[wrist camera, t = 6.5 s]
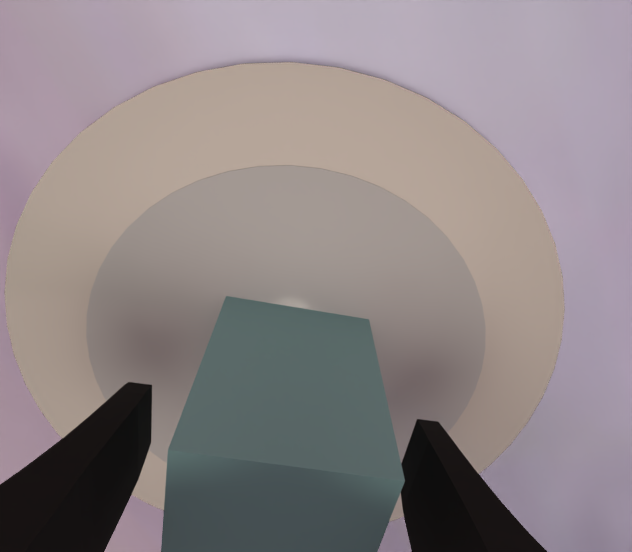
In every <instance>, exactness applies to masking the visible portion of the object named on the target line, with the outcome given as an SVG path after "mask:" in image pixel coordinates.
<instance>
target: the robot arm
mask: <svg viewBox="0 0 632 552" xmlns="http://www.w3.org/2000/svg"><path fill="white" fill-rule="evenodd" d="M151 429H152V385H149V384H141V383H134V382H128V383H126V384H125V385H123V386H122V387H121V388H120V389H119V390H118V391H117V392H116V393H115V394H114V395H112V396H111V397H110V398H109V399H108V400H107V401H106V402H105V403H104V404H102V405H101V406H100V407H99V408H98V409H97V410H96V411H94V412H93V413H92V414H91V415H90V416H89V417H88V418H86V419H85V420H84V421H83V422H82V423H80V424H79V425H78V426H77V427H76V428H74V429H73V430H72V431H71V432H70V433H68V434H67V435H66V436H65V437H64V438H62V439H61V440H60V441H59V442H57V443H56V444H55V445H54V446H52V447H51V448H50V449H48V450H47V451H46V452H44V453H43V454H42V455H40V456H39V457H38V458H36V459H35V460H34V461H33V462H31V463H30V464H29V465H27V466H26V467H25V468H23V469H22V470H20V471H19V472H18V473H16V474H15V475H13V476H12V477H10V478H9V479H8V480H6V481H5V482H3V483H2V484H0V552H104V551H105V549H106V547H107V544H108V542H109V540H110V538H111V536H112V534H113V532H114V530H115V528H116V526H117V524H118V522H119V519H120V517H121V515H122V513H123V511H124V509H125V507H126V505H127V503H128V501H129V498H130V496H131V494H132V492H133V490H134V488H135V486H136V484H137V481H138V479H139V476H140V474H141V471H142V468H143V465H144V462H145V459H146V456H147V453H148V450H149V447H150V445H151ZM401 465H402V470H403V474H404V479H405V482H404V485H403V488H402V490H401V500H402V508H403V513H404V518H405V523H406V527H407V531H408V536H409V540H410V545H411V549H412V552H547V551H546V550H545V549H544V548H543V547H542V546H541V545H540V544H539V543H538V542H537V541H536V540H535V539H534V538H533V537H532V536H531V535H530V533H529V532H528V531H527V530H526V529H525V528H524V527H523V526H522V525H521V524H520V523H519V521H518V520H517V519H516V518H515V517H514V516H513V515H512V514H511V512H510V511H509V510H508V509H507V508H506V507H505V506H504V504H503V503H502V502H501V501H500V500H499V499H498V497H497V496H496V495H495V494H494V493H493V491H492V490H491V489H490V488H489V486H488V485H487V484H486V483H485V482H484V480H483V479H482V478H481V476H480V475H479V474H478V473H477V471H476V470H475V469H474V468H473V466H472V465H471V464H470V462H469V461H468V460H467V458H466V457H465V456H464V455H463V453H462V452H461V451H460V449H459V448H458V447H457V445H456V444H455V443H454V441H453V440H452V439H451V437H450V436H449V435H448V433H447V432H446V431H445V429H444V428H443V427H442V426H441V424H440V423H439V422H437V421H429V420H422V419H417V421H416V423H415V426H414V429H413V432H412V435H411V438H410V441H409V443H408V446H407V449H406V452H405V455H404V458H403V460H402V463H401Z"/></svg>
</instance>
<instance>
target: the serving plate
mask: <svg viewBox="0 0 632 552" xmlns="http://www.w3.org/2000/svg"><path fill="white" fill-rule="evenodd" d="M226 296H230V297H236V298H242V299H248V300H254V301H260V302H267V303H273V304H279V305H285V306H291V307H297V308H303V309H309V310H315V311H322V312H328V313H334V314H340V315H346V316H352V317H358V318H364V319H369V322H370V326H371V331H372V335H373V340H374V344H375V349H376V353H377V358H378V362H379V367H380V371H381V376H382V380H383V385H384V389H385V394H386V398H387V403H388V407H389V412H390V416H391V421H392V425H393V430H394V434H395V439H396V443H397V448H398V452H399V456H400V461H401V463H402V460H403V458H404V455H405V452H406V449H407V446H408V443H409V441H410V438H411V435H412V432H413V429H414V426H415V423H416V421H417V419H422V420H429V421H437V422H439V423H440V424H441V426H442V427H443V428H444V429H445V431H446V432H447V433H448V435H449V436H450V437H451V439H452V440H453V441H454V443H455V444H456V445H457V447H458V448H459V449H460V451H461V452H462V453H463V455H464V456H465V457H466V458H467V460H468V461H469V462H470V464H471V465H472V466H473V468H474V469H475V470H476V471H477V473H478V474H479V473H481V472H482V471H483V470H484V469H486V468H487V467H488V466H489V465H491V464H492V463H493V462H494V461H495V460H496V459H497V458H498V457H499V456H500V454H501V453H502V452H503V451H504V450H505V449H506V448H507V447H508V446H509V445H510V444H511V443H512V442H513V441H514V439H515V438H516V437H517V435H518V434H519V433H520V431H521V430H522V429H523V428H524V426H525V425H526V424H527V422H528V421H529V419H530V418H531V416H532V414H533V412H534V411H535V409H536V407H537V406H538V404H539V402H540V401H541V399H542V397H543V395H544V393H545V390H546V388H547V385H548V383H549V380H550V378H551V376H552V373H553V371H554V368H555V364H556V360H557V356H558V352H559V348H560V344H561V340H562V330H563V320H564V293H563V277H562V272H561V268H560V263H559V259H558V255H557V250H556V246H555V243H554V240H553V238H552V235H551V233H550V230H549V228H548V225H547V223H546V220H545V218H544V215H543V213H542V211H541V209H540V207H539V206H538V204H537V202H536V201H535V199H534V197H533V196H532V194H531V193H530V191H529V189H528V188H527V186H526V184H525V183H524V181H523V179H522V178H521V177H520V176H519V175H518V173H517V172H516V171H515V170H514V169H513V168H512V166H511V165H510V164H509V163H508V162H507V161H506V159H505V158H504V157H503V156H502V155H501V154H500V152H499V151H498V150H497V149H496V148H495V147H494V146H493V145H492V144H490V143H489V142H488V141H487V140H486V139H485V138H483V137H482V136H481V135H480V134H479V133H477V132H476V131H475V130H474V129H473V128H472V127H470V126H469V125H468V124H467V123H466V122H465V121H463V120H462V119H460V118H458V117H457V116H455V115H453V114H452V113H450V112H449V111H447V110H445V109H444V108H442V107H441V106H439V105H437V104H436V103H434V102H432V101H431V100H429V99H428V98H426V97H423V96H421V95H419V94H416V93H414V92H412V91H409V90H407V89H405V88H402V87H400V86H398V85H395V84H393V83H391V82H388V81H386V80H383V79H380V78H376V77H372V76H368V75H365V74H361V73H357V72H353V71H349V70H346V69H342V68H337V67H328V66H320V65H311V64H302V63H294V62H284V63H251V64H239V65H234V66H228V67H223V68H217V69H211V70H206V71H200V72H196V73H193V74H190V75H187V76H184V77H181V78H178V79H175V80H172V81H169V82H166V83H163V84H160V85H158V86H155V87H152V88H150V89H149V90H147V91H145V92H143V93H141V94H139V95H137V96H135V97H133V98H131V99H129V100H127V101H126V102H124V103H122V104H120V105H118V106H116V107H114V108H113V109H111V110H110V111H109V112H107V113H106V114H105V115H103V116H102V117H101V118H99V119H98V120H97V121H95V122H94V123H93V124H91V125H90V126H89V127H87V128H86V129H85V130H83V131H82V132H81V133H80V134H79V135H78V136H77V137H76V138H75V139H74V140H73V141H72V142H71V143H70V144H69V145H68V146H67V147H66V148H65V149H64V150H63V151H62V152H61V153H60V154H59V155H58V156H57V158H56V159H55V160H54V161H53V162H52V163H51V165H50V166H49V168H48V169H47V171H46V172H45V173H44V175H43V176H42V178H41V179H40V181H39V182H38V184H37V185H36V187H35V188H34V190H33V191H32V193H31V195H30V197H29V199H28V201H27V203H26V206H25V208H24V210H23V212H22V214H21V217H20V219H19V221H18V223H17V225H16V229H15V233H14V236H13V240H12V244H11V248H10V252H9V256H8V260H7V271H6V282H5V305H6V318H7V327H8V331H9V335H10V340H11V344H12V348H13V353H14V356H15V359H16V361H17V364H18V366H19V369H20V371H21V374H22V376H23V379H24V382H25V384H26V386H27V387H28V389H29V391H30V393H31V395H32V396H33V398H34V400H35V402H36V404H37V405H38V407H39V409H40V410H41V412H42V413H43V414H44V416H45V417H46V419H47V420H48V421H49V423H50V424H51V425H52V427H53V428H54V429H55V431H56V432H57V433H58V435H59V436H60V437H61V438H64V437H65V436H66V435H67V434H68V433H70V432H71V431H72V430H73V429H74V428H76V427H77V426H78V425H79V424H80V423H82V422H83V421H84V420H85V419H86V418H88V417H89V416H90V415H91V414H92V413H93V412H94V411H96V410H97V409H98V408H99V407H100V406H101V405H102V404H104V403H105V402H106V401H107V400H108V399H109V398H110V397H111V396H112V395H114V394H115V393H116V392H117V391H118V390H119V389H120V388H121V387H122V386H123V385H125V384H126V383H128V382H134V383H141V384H149V385H152V429H151V445H150V447H149V450H148V453H147V456H146V459H145V462H144V465H143V468H142V471H141V474H140V476H139V479H138V481H137V484H136V486H135V488H134V490H133V492H132V494H131V495H133V496H135V497H137V498H139V499H140V500H142V501H144V502H146V503H148V504H150V505H152V506H154V507H157V508H159V509H161V510H163V511H164V502H165V486H166V471H167V455H168V448H169V446H170V443H171V440H172V438H173V435H174V432H175V430H176V427H177V424H178V422H179V419H180V417H181V414H182V411H183V409H184V406H185V403H186V401H187V398H188V395H189V393H190V390H191V387H192V385H193V382H194V380H195V377H196V374H197V372H198V369H199V366H200V364H201V361H202V358H203V356H204V353H205V350H206V348H207V345H208V342H209V340H210V337H211V335H212V332H213V329H214V327H215V324H216V321H217V319H218V316H219V313H220V311H221V308H222V305H223V303H224V300H225V298H226ZM401 517H404V513H403V508H402V500H401V493H400V495H399V498H398V500H397V503H396V505H395V508H394V510H393V513H392V515H391V518H390V520H389V521H393V520H396V519H398V518H401Z"/></svg>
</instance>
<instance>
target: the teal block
mask: <svg viewBox="0 0 632 552" xmlns="http://www.w3.org/2000/svg"><path fill="white" fill-rule="evenodd" d="M404 482H405V479H404V474H403V470H402V465H401V461H400V456H399V452H398V448H397V443H396V439H395V434H394V430H393V425H392V421H391V416H390V412H389V407H388V403H387V398H386V394H385V389H384V385H383V380H382V376H381V371H380V367H379V362H378V358H377V353H376V349H375V344H374V340H373V335H372V331H371V326H370V322H369V319H364V318H358V317H352V316H346V315H340V314H334V313H328V312H322V311H315V310H309V309H303V308H297V307H291V306H285V305H279V304H273V303H267V302H260V301H254V300H248V299H242V298H236V297H230V296H226V298H225V300H224V303H223V305H222V308H221V311H220V313H219V316H218V319H217V321H216V324H215V327H214V329H213V332H212V335H211V337H210V340H209V342H208V345H207V348H206V350H205V353H204V356H203V358H202V361H201V364H200V366H199V369H198V372H197V374H196V377H195V380H194V382H193V385H192V387H191V390H190V393H189V395H188V398H187V401H186V403H185V406H184V409H183V411H182V414H181V417H180V419H179V422H178V424H177V427H176V430H175V432H174V435H173V438H172V440H171V443H170V446H169V448H168V455H167V471H166V486H165V502H164V517H163V533H162V548H161V552H377V551H378V548H379V546H380V543H381V540H382V538H383V535H384V533H385V530H386V528H387V525H388V523H389V520H390V518H391V515H392V513H393V510H394V508H395V505H396V503H397V500H398V498H399V495H400V493H401V490H402V488H403V485H404Z"/></svg>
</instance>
